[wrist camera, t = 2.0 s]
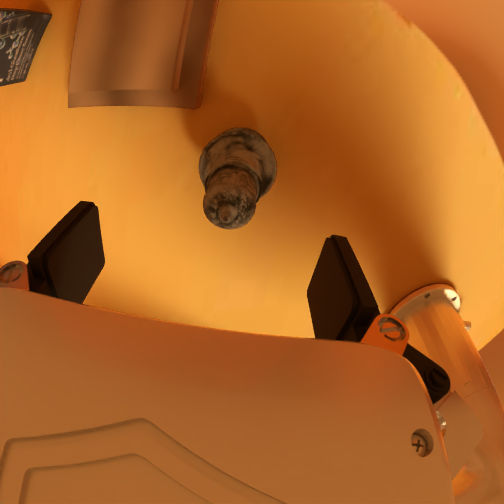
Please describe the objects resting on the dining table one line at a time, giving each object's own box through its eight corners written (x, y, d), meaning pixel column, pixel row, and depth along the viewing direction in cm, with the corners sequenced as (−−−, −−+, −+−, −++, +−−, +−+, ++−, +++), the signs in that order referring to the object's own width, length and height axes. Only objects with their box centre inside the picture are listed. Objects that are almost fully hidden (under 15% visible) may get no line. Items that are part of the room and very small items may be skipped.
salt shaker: (206, 123, 22) (162, 161, 12) (277, 126, 22) (293, 166, 12) (206, 187, 25) (172, 266, 15) (271, 190, 25) (279, 273, 15)
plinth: (223, -20, 15) (216, -36, 11) (200, 106, 21) (189, 111, 18) (95, -9, 14) (73, -17, 10) (79, 104, 20) (55, 111, 17)
